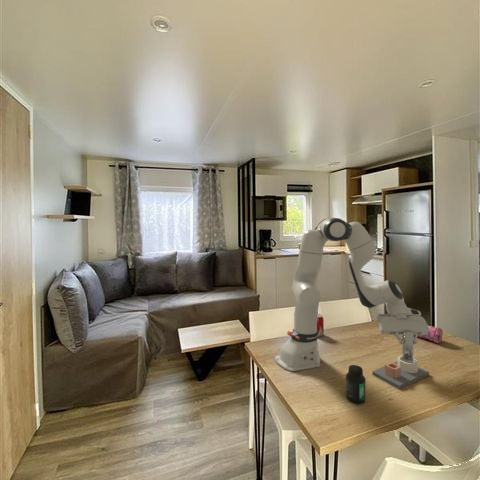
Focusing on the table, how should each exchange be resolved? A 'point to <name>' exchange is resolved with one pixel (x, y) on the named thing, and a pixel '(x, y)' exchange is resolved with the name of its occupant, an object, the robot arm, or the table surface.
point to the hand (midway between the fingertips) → (408, 343)
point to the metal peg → (408, 344)
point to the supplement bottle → (355, 385)
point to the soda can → (320, 325)
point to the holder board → (401, 372)
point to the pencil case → (433, 334)
